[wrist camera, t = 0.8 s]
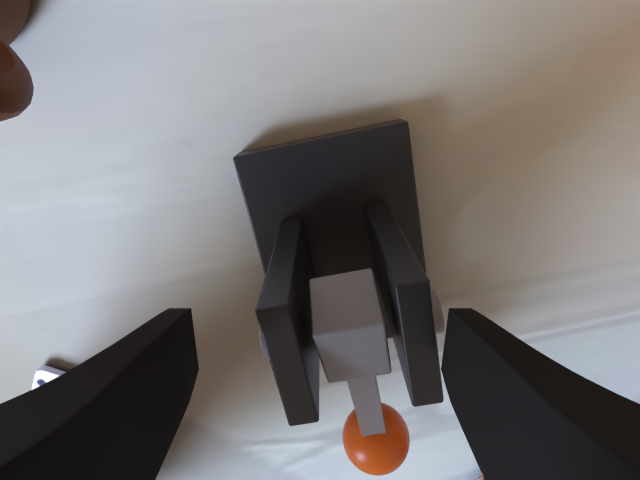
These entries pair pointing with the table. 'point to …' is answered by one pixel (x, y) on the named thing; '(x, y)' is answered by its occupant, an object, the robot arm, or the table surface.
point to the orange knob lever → (358, 366)
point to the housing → (340, 251)
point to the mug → (13, 60)
